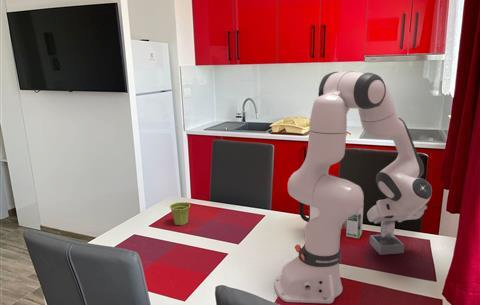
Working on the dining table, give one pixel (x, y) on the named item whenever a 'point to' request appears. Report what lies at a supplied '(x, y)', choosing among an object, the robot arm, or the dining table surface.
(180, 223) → the plant pot
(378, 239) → the socket
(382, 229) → the tube
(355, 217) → the syrup box
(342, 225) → the small box
